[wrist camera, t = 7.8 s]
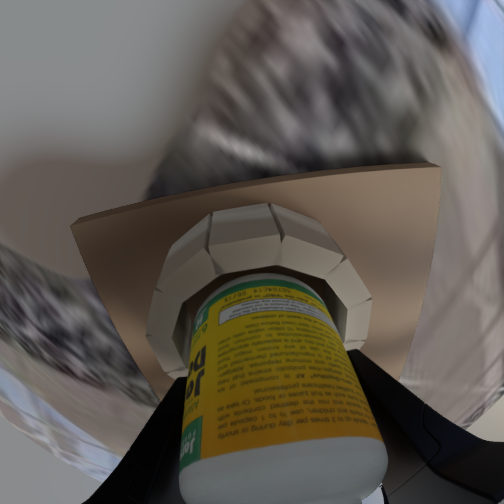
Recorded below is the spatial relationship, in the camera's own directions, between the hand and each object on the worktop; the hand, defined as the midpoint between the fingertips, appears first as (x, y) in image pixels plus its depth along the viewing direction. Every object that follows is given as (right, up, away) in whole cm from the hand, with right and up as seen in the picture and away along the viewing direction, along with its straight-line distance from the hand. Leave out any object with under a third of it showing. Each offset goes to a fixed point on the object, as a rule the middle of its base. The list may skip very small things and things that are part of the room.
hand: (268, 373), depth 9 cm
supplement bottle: (0, +1, +2) cm, 3 cm away
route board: (+1, -2, +7) cm, 7 cm away
